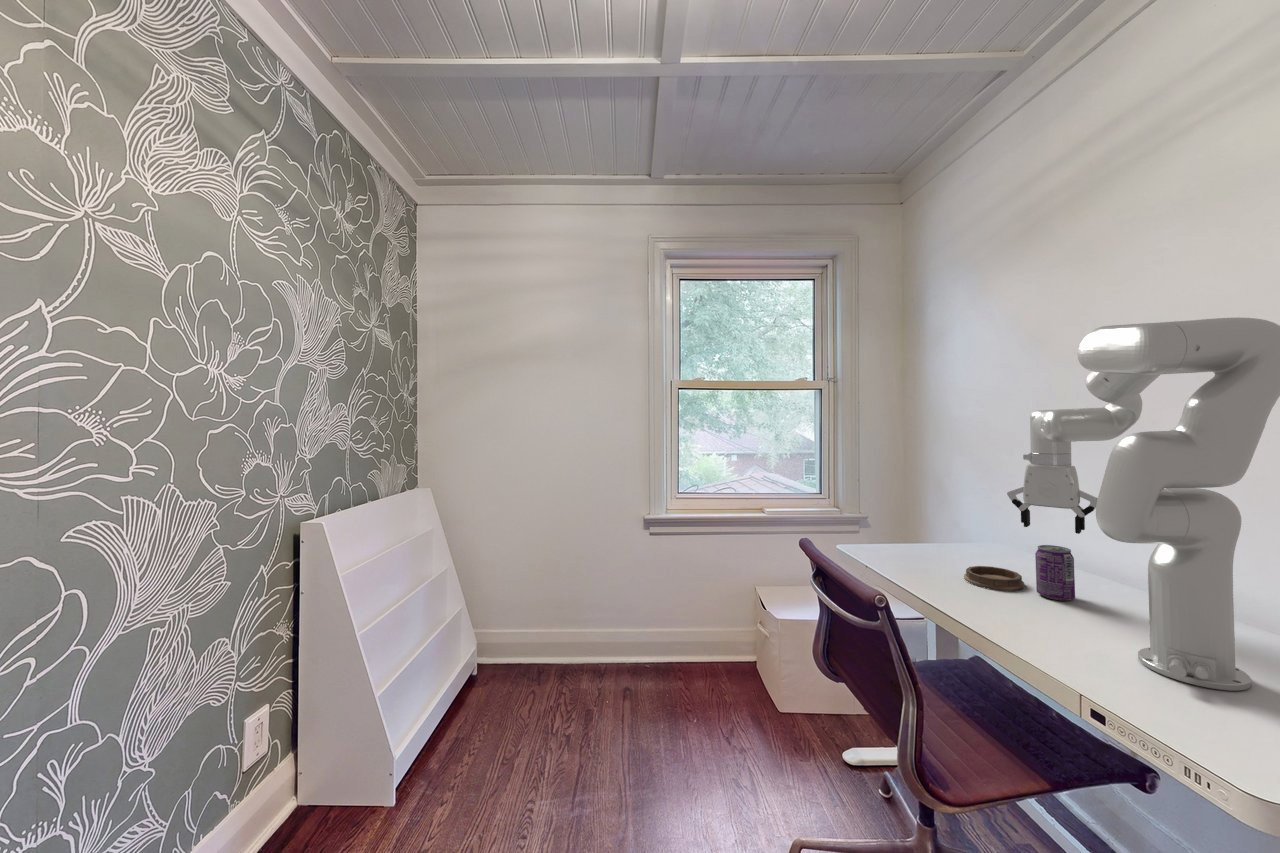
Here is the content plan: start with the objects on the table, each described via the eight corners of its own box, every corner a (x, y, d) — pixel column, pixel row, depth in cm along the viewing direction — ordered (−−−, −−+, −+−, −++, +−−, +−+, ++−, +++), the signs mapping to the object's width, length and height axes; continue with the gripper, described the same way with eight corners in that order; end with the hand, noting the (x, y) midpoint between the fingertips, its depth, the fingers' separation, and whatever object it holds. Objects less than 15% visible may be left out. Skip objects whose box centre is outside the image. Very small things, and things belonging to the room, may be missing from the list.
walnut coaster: (1017, 594, 117) (1017, 584, 117) (957, 582, 127) (956, 572, 127) (1030, 582, 125) (1029, 572, 125) (972, 571, 135) (972, 562, 135)
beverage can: (1071, 594, 116) (1069, 546, 116) (1078, 604, 110) (1077, 553, 110) (1034, 590, 120) (1032, 543, 120) (1039, 599, 114) (1037, 550, 114)
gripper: (1002, 459, 119) (1004, 526, 120) (1097, 463, 106) (1098, 538, 106) (1010, 457, 124) (1012, 521, 124) (1102, 460, 111) (1103, 532, 111)
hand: (1051, 529), depth 115 cm, fingers open, 9 cm apart
